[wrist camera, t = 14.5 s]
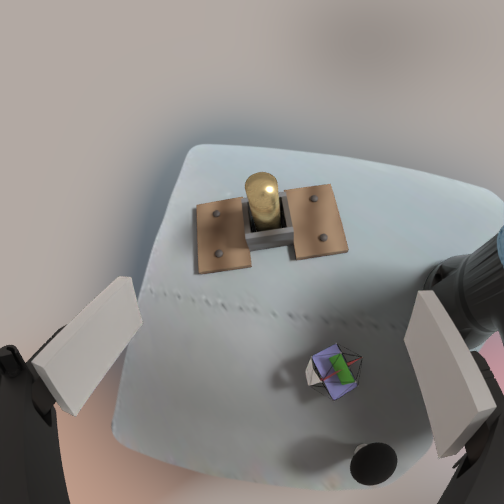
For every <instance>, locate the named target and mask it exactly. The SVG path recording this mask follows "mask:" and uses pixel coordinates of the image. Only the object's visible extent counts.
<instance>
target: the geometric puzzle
mask: <svg viewBox="0 0 504 504" xmlns="http://www.w3.org/2000/svg"><path fill="white" fill-rule="evenodd" d="M344 348H345V347H344ZM346 349H347V348H346ZM348 350H349V349H348ZM343 354H345V353H343ZM343 354H342V352H341V350H340V348H339V346H338V344H337V343H336V344H334V345H332V346H330V347H328V348H326V349H324V350H323V351H321V352H319V353H317V354H315V355H313V356H311V359H310V361H309V363H308V366H307V368H306V370H305V373H306V379H307V382H308V386H313V385H314V384H317V383H320V382H321V383H322V381H324V383H325V385H326V387H327V389H328V390H327V389H326V390H327V391H329V392H328V393H330V394H329V395H330V396H331V398H332V399H333V402H334V401H335V400H336V399H338V398H340V397H341V396H343V395H344V394H346V393H348V392H349V391H351V390H352V389H354V388H355V387H357V386H358V384H357V382H356V380H355V378H354V376H353V374H352V372H351V370H350V368H349V365H351V364H353V363H354V362H356V361H357V360H359V359H360V358H363V357H362V356H361V357H360V355H359V356H358V357H360V358H358V359H355V360H353V361H350V362H347V361H346V359H345V358H344V356H343ZM355 354H356V353H355ZM348 355H350V354H348ZM357 355H358V354H357ZM353 356H355V355H353ZM312 360H313V362H314V365H316V366H315V367H317V368H315V369H316V370H317V369H318V371H319V373H320V375H321V377H322V378H320V379H319V377H320V376H319V377H318V376H317V374H316V372H315V371H314V369H313V366H312ZM361 362H362V360H361ZM360 365H362V363H361V364H360ZM359 369H360V368H359ZM318 371H317V372H318ZM360 371H361V370H360ZM358 372H359V371H358ZM319 373H318V375H319ZM357 376H358V375H357ZM359 377H360V376H359ZM356 379H357V378H356ZM358 383H359V382H358ZM322 384H323V383H322ZM323 385H324V384H323ZM318 387H322V386H318ZM324 387H325V386H324ZM326 387H325V388H326ZM313 389H314V388H313ZM321 394H322V393H321ZM329 399H330V398H329Z"/></svg>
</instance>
